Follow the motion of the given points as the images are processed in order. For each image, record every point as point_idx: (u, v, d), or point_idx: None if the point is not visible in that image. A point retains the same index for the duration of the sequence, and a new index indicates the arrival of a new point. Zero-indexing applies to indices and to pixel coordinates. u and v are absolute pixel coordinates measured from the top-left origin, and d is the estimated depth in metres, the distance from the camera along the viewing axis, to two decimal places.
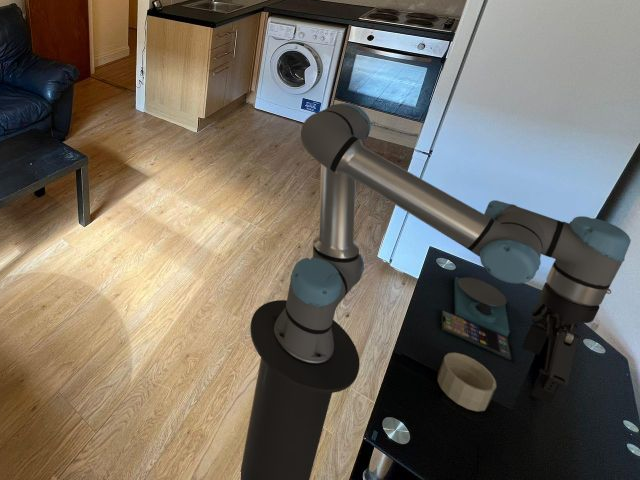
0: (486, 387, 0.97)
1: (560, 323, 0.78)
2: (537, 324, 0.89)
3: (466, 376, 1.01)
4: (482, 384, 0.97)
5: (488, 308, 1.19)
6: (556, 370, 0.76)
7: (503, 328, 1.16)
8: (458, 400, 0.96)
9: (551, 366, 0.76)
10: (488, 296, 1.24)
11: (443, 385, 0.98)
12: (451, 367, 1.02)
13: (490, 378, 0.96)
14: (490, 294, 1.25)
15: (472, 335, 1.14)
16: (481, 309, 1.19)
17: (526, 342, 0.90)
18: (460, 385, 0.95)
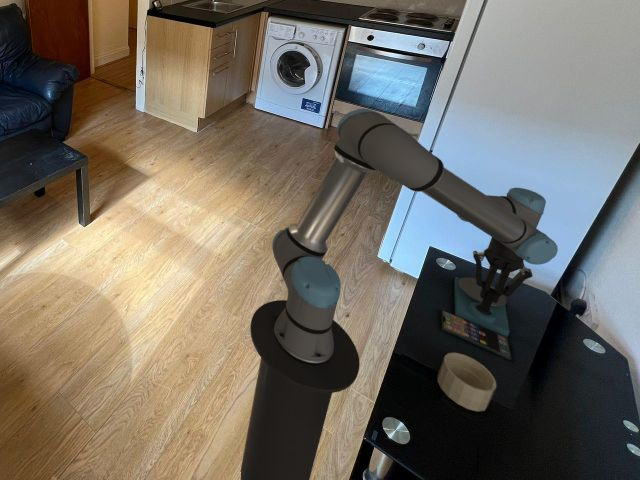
0: (486, 387, 0.97)
1: None
2: None
3: (466, 376, 1.01)
4: (482, 384, 0.97)
5: None
6: None
7: (503, 328, 1.16)
8: (458, 400, 0.96)
9: None
10: None
11: (443, 385, 0.98)
12: (451, 367, 1.02)
13: (490, 378, 0.96)
14: None
15: (472, 335, 1.14)
16: (480, 311, 1.19)
17: None
18: (460, 385, 0.95)
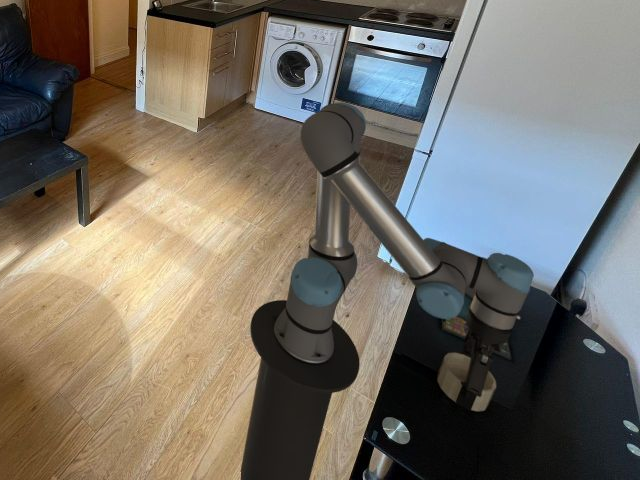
0: (486, 387, 0.97)
1: (480, 344, 0.91)
2: (467, 350, 1.01)
3: (466, 376, 1.01)
4: None
5: None
6: (473, 384, 0.90)
7: None
8: None
9: (469, 380, 0.91)
10: None
11: (443, 384, 0.98)
12: (451, 367, 1.02)
13: (490, 378, 0.96)
14: None
15: None
16: None
17: None
18: (460, 385, 0.95)
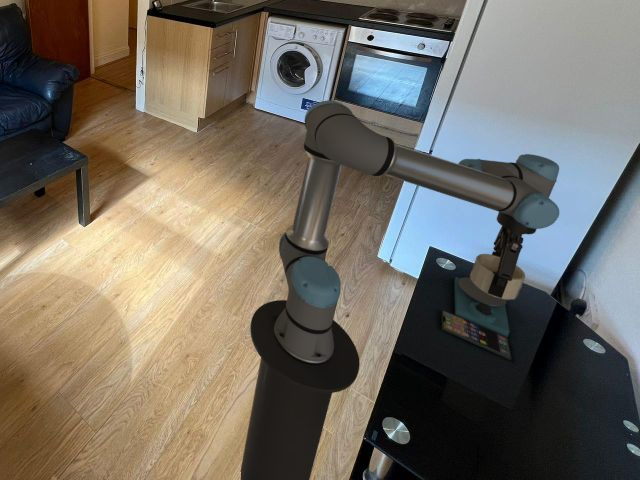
0: None
1: (510, 235, 1.02)
2: (497, 251, 1.12)
3: None
4: (512, 278, 1.08)
5: (488, 308, 1.19)
6: (504, 270, 1.01)
7: (503, 328, 1.16)
8: None
9: (501, 267, 1.02)
10: (488, 296, 1.24)
11: (476, 279, 1.10)
12: None
13: (519, 271, 1.07)
14: None
15: (472, 335, 1.14)
16: (481, 309, 1.19)
17: None
18: (492, 276, 1.06)
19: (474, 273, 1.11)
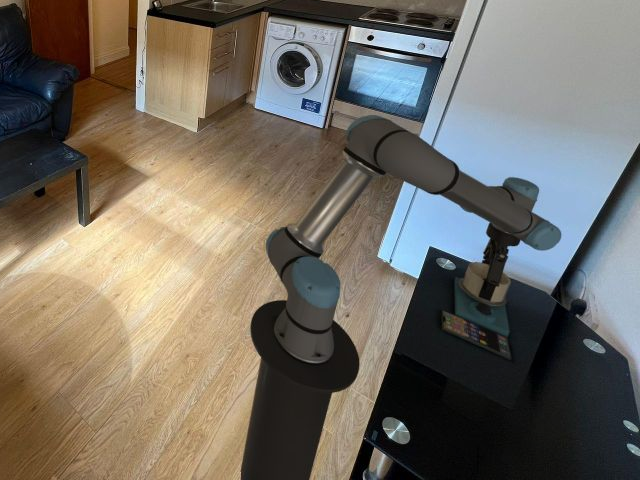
0: None
1: (497, 247, 1.18)
2: (486, 259, 1.28)
3: None
4: None
5: (488, 308, 1.19)
6: (492, 277, 1.17)
7: (503, 328, 1.16)
8: None
9: (489, 275, 1.18)
10: None
11: (468, 285, 1.26)
12: None
13: (505, 277, 1.23)
14: None
15: (472, 335, 1.14)
16: (481, 309, 1.19)
17: None
18: (482, 282, 1.22)
19: (466, 279, 1.27)
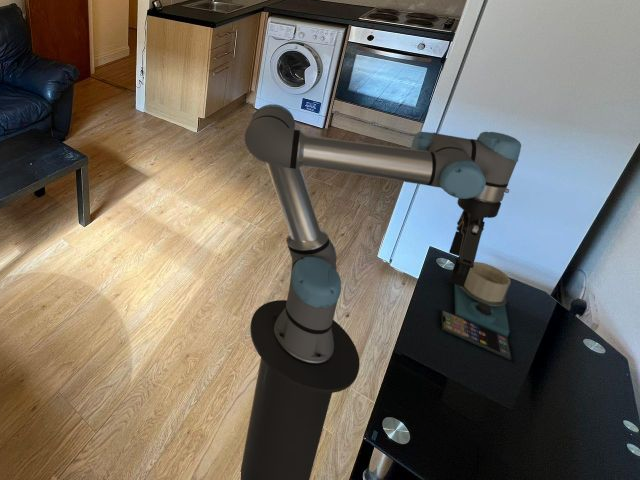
0: None
1: (470, 219, 0.95)
2: (460, 231, 1.06)
3: (486, 280, 1.28)
4: (499, 283, 1.25)
5: (488, 308, 1.19)
6: (465, 255, 0.93)
7: (503, 328, 1.16)
8: (480, 294, 1.23)
9: (461, 253, 0.94)
10: None
11: (468, 285, 1.26)
12: None
13: (505, 277, 1.23)
14: None
15: (472, 335, 1.14)
16: (481, 309, 1.19)
17: (452, 247, 1.08)
18: (482, 282, 1.22)
19: (466, 279, 1.27)
